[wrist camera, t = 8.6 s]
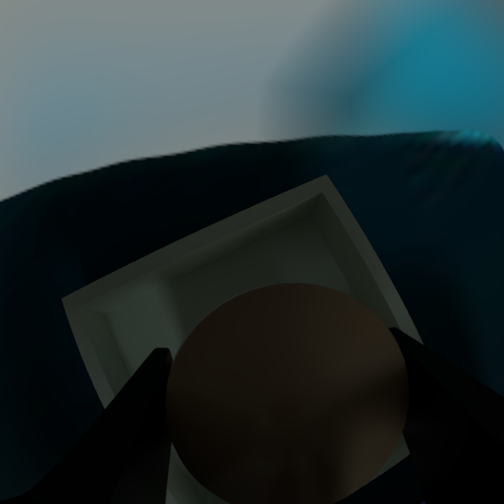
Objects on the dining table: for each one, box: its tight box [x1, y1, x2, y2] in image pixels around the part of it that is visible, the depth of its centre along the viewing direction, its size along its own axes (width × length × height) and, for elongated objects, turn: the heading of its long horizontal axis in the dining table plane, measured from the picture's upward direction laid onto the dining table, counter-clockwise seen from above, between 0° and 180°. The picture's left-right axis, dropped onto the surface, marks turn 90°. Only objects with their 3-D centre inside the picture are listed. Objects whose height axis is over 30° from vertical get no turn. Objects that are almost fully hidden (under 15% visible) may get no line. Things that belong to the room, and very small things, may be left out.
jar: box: [165, 283, 409, 504], centre depth 11 cm, size 6×6×8 cm
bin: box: [62, 175, 424, 504], centre depth 15 cm, size 15×15×4 cm
